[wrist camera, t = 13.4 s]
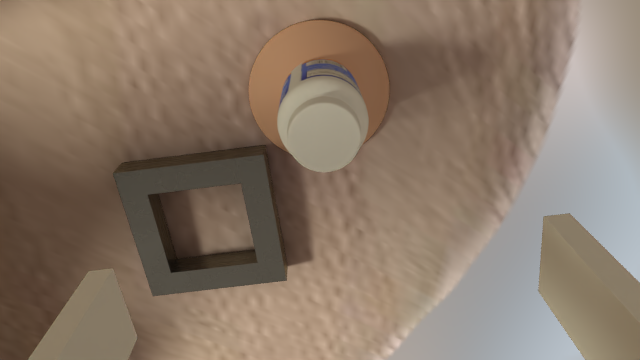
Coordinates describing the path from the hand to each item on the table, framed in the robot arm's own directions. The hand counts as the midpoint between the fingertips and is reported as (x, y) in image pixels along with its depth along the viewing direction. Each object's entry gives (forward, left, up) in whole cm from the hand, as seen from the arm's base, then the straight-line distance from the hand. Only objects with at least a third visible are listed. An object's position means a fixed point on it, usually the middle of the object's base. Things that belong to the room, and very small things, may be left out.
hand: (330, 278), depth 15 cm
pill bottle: (0, 0, -22) cm, 22 cm away
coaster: (0, 0, -23) cm, 23 cm away
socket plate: (-10, -9, -23) cm, 26 cm away
